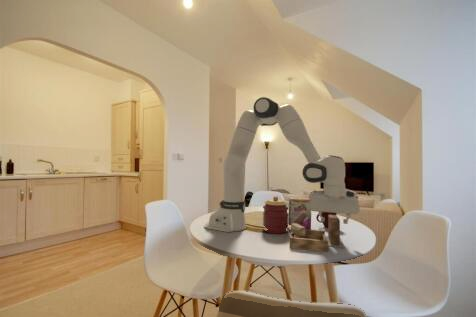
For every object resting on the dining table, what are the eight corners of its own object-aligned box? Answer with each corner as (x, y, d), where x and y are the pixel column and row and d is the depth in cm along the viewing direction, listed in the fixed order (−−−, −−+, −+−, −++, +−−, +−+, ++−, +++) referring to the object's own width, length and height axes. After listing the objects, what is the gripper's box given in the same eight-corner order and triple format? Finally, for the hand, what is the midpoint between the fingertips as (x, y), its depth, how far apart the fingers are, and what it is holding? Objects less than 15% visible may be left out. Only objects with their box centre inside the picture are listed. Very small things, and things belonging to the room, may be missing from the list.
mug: (320, 229, 119) (321, 210, 119) (313, 225, 127) (313, 207, 127) (339, 229, 120) (339, 210, 121) (331, 225, 128) (331, 207, 129)
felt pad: (326, 246, 95) (326, 245, 95) (324, 236, 108) (324, 235, 108) (345, 248, 93) (345, 247, 93) (340, 238, 106) (340, 237, 106)
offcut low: (294, 245, 96) (294, 236, 96) (293, 238, 104) (293, 230, 104) (301, 246, 95) (301, 236, 95) (300, 239, 104) (300, 230, 104)
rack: (289, 247, 93) (289, 237, 93) (291, 236, 107) (291, 227, 108) (327, 251, 89) (328, 241, 89) (324, 239, 103) (324, 230, 103)
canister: (263, 233, 110) (263, 197, 111) (262, 226, 123) (262, 194, 124) (290, 234, 110) (290, 198, 110) (286, 227, 123) (286, 194, 123)
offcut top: (299, 236, 96) (299, 227, 96) (290, 231, 103) (290, 223, 103) (304, 235, 97) (305, 227, 97) (296, 230, 103) (296, 223, 104)
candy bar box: (289, 230, 116) (289, 198, 116) (288, 228, 121) (288, 197, 121) (311, 231, 115) (311, 199, 115) (309, 229, 120) (309, 198, 120)
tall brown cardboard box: (330, 244, 96) (330, 219, 96) (328, 237, 106) (328, 214, 106) (339, 245, 95) (339, 220, 95) (336, 237, 105) (336, 215, 105)
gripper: (310, 191, 101) (309, 222, 100) (361, 193, 95) (360, 226, 95) (309, 189, 107) (309, 218, 106) (357, 191, 101) (357, 222, 101)
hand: (333, 222), depth 101 cm, fingers open, 8 cm apart
